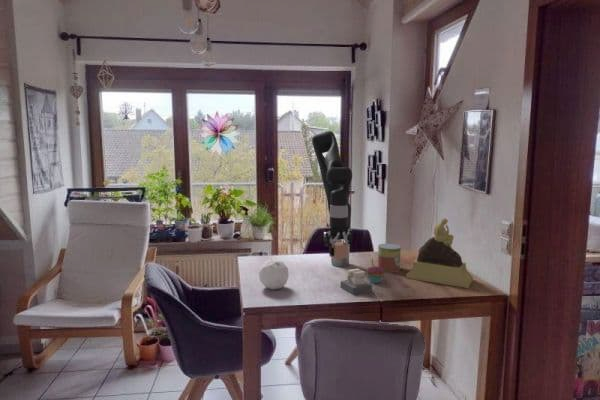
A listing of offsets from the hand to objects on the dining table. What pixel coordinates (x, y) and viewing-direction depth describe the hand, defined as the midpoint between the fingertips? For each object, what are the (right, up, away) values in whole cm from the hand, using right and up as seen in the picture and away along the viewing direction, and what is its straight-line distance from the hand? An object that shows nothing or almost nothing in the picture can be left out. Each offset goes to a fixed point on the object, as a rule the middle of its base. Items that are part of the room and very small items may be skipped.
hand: (338, 254), depth 184 cm
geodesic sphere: (-28, -17, +13) cm, 35 cm away
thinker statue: (+51, -15, +26) cm, 59 cm away
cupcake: (+19, -15, +22) cm, 33 cm away
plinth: (+9, -17, +11) cm, 22 cm away
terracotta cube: (0, -1, 0) cm, 1 cm away
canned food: (+30, -13, +42) cm, 52 cm away
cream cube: (+9, -14, +11) cm, 20 cm away
